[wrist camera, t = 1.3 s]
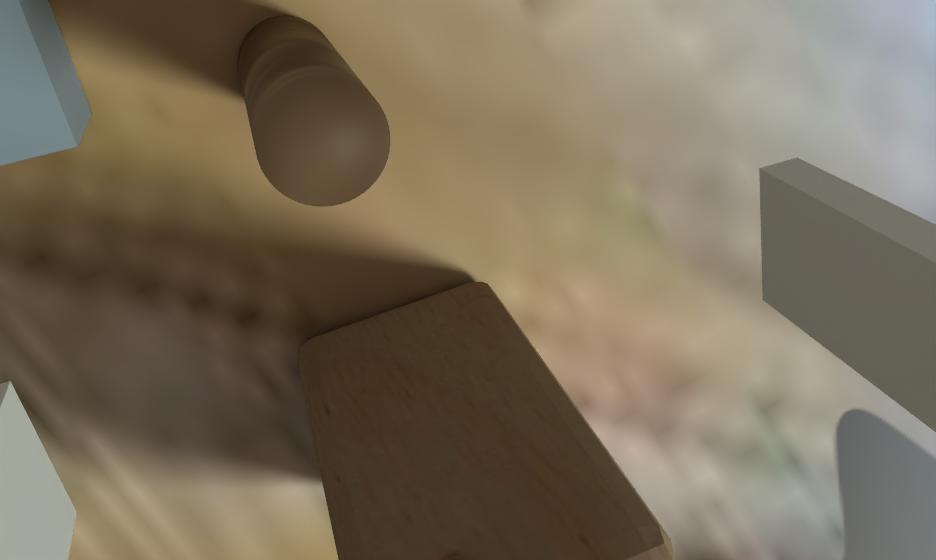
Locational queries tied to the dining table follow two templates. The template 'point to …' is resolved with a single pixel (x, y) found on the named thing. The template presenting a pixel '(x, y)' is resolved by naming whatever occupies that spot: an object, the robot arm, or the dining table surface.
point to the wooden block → (462, 443)
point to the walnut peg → (310, 114)
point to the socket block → (36, 84)
